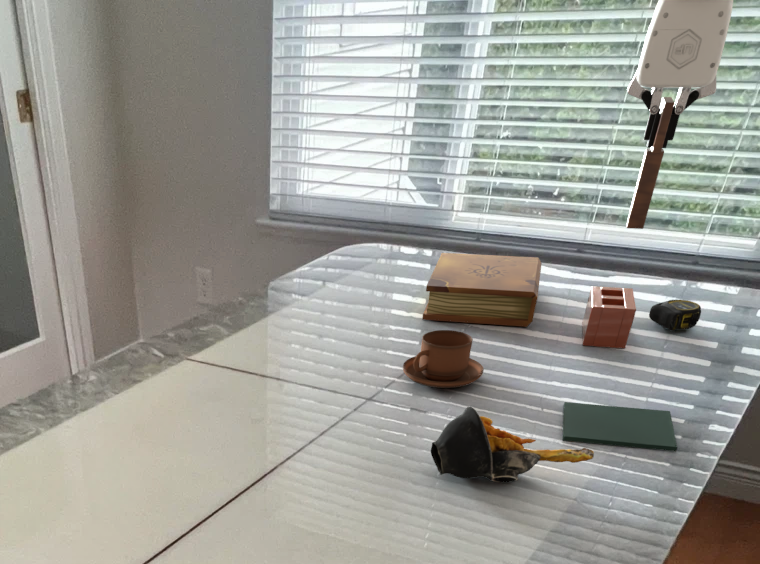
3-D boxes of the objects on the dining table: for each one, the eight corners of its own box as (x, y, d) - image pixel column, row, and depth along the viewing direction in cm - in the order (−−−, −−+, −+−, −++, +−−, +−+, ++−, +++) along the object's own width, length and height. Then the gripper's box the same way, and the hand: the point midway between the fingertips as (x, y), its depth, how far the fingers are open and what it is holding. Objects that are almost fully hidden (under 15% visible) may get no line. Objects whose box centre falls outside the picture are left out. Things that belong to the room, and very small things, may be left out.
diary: (531, 328, 145) (538, 292, 141) (422, 320, 150) (426, 285, 146) (536, 289, 161) (542, 256, 158) (437, 284, 166) (441, 251, 162)
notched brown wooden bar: (641, 222, 132) (676, 96, 121) (643, 231, 128) (679, 102, 117) (625, 221, 133) (658, 96, 122) (626, 231, 129) (660, 102, 118)
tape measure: (644, 323, 146) (650, 300, 143) (680, 319, 146) (687, 296, 144) (666, 336, 141) (673, 312, 138) (703, 332, 141) (711, 308, 139)
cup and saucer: (460, 401, 123) (467, 357, 119) (387, 384, 128) (391, 342, 124) (494, 375, 130) (502, 333, 126) (423, 360, 135) (429, 320, 131)
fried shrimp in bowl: (417, 423, 106) (558, 367, 104) (441, 506, 110) (578, 455, 107) (432, 424, 98) (586, 364, 95) (457, 515, 101) (607, 459, 98)
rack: (622, 326, 145) (632, 288, 141) (625, 348, 137) (636, 309, 133) (582, 323, 147) (591, 286, 143) (582, 345, 138) (592, 306, 134)
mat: (668, 415, 117) (670, 411, 117) (675, 451, 109) (677, 447, 108) (563, 405, 121) (564, 401, 120) (562, 440, 112) (563, 436, 112)
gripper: (638, -18, 110) (600, 150, 123) (769, -22, 106) (716, 151, 119) (636, -19, 116) (599, 141, 128) (761, -23, 112) (711, 143, 124)
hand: (656, 145), depth 123 cm, fingers closed on notched brown wooden bar, 1 cm apart
